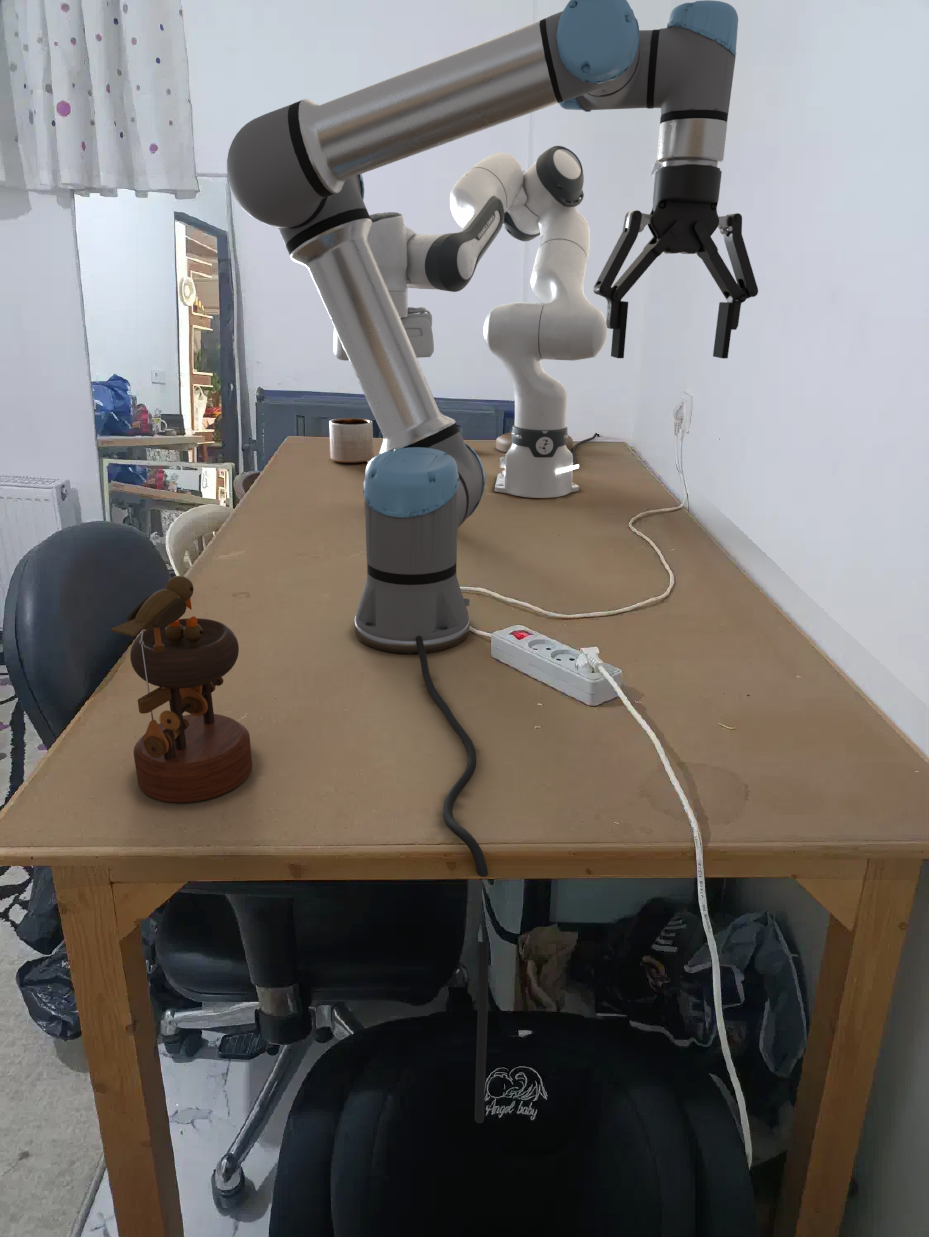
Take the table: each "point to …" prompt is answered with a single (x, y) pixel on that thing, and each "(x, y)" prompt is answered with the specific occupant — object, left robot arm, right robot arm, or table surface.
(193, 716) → the music box
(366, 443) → the planter
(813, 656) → the table surface
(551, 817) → the table surface
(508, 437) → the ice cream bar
